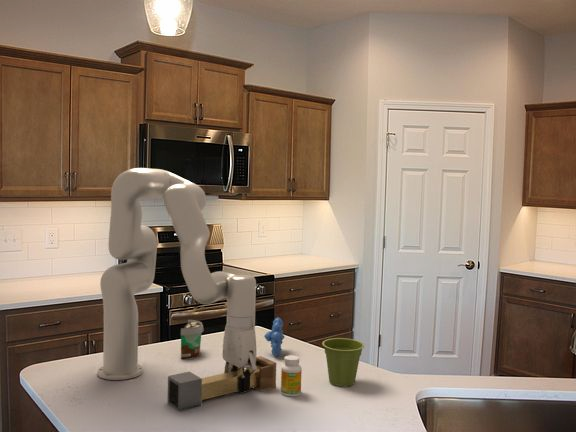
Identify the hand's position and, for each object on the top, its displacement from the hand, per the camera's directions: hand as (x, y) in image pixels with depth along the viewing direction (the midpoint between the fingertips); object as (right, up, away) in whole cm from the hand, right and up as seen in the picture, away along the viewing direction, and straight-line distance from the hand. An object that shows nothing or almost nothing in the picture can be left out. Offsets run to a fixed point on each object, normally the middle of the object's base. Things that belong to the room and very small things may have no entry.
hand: (239, 388), depth 152 cm
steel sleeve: (-13, -1, -10) cm, 17 cm away
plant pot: (+28, -1, +9) cm, 30 cm away
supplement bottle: (+14, -1, 0) cm, 14 cm away
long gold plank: (-3, -1, -2) cm, 4 cm away
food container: (-18, +1, +31) cm, 35 cm away
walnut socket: (+5, -1, +4) cm, 7 cm away
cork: (-3, 0, +12) cm, 12 cm away
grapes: (+8, +1, +34) cm, 35 cm away
